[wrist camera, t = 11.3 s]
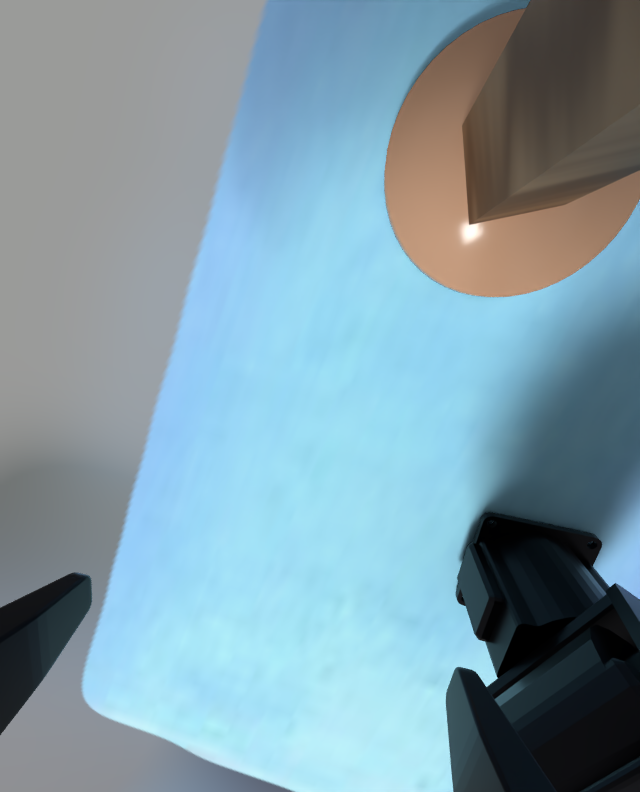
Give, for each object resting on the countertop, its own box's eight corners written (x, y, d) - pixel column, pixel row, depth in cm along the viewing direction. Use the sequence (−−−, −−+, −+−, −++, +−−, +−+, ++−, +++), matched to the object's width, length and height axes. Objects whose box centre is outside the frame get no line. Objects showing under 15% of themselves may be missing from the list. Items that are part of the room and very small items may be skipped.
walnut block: (564, 205, 16) (958, 22, 5) (469, 225, 16) (647, 99, 6) (563, 99, 15) (1045, -387, 4) (462, 125, 15) (659, -237, 5)
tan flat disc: (689, 35, 14) (707, 21, 14) (586, 314, 17) (596, 315, 17) (413, 8, 15) (416, -7, 14) (364, 277, 18) (363, 277, 18)
